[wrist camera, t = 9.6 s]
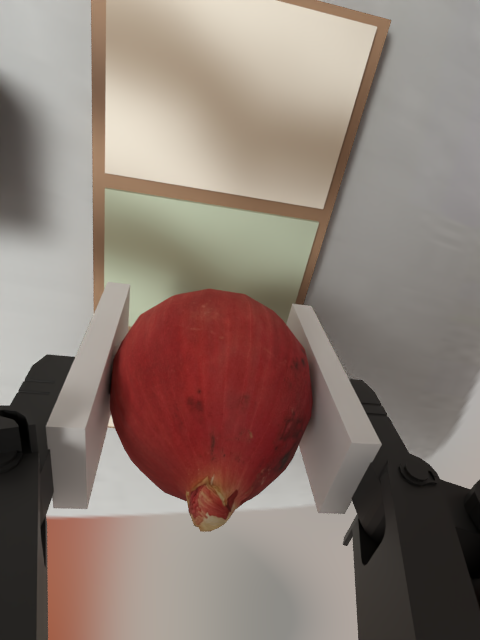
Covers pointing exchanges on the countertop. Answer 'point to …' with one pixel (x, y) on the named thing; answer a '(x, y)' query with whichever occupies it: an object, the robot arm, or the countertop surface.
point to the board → (222, 142)
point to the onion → (211, 399)
